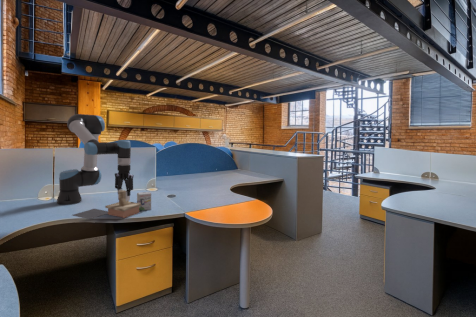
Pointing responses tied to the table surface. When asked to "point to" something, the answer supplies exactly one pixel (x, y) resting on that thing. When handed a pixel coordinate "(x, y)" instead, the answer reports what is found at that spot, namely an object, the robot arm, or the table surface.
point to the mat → (91, 213)
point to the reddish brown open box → (123, 212)
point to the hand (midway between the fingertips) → (123, 200)
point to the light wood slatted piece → (123, 203)
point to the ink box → (144, 200)
